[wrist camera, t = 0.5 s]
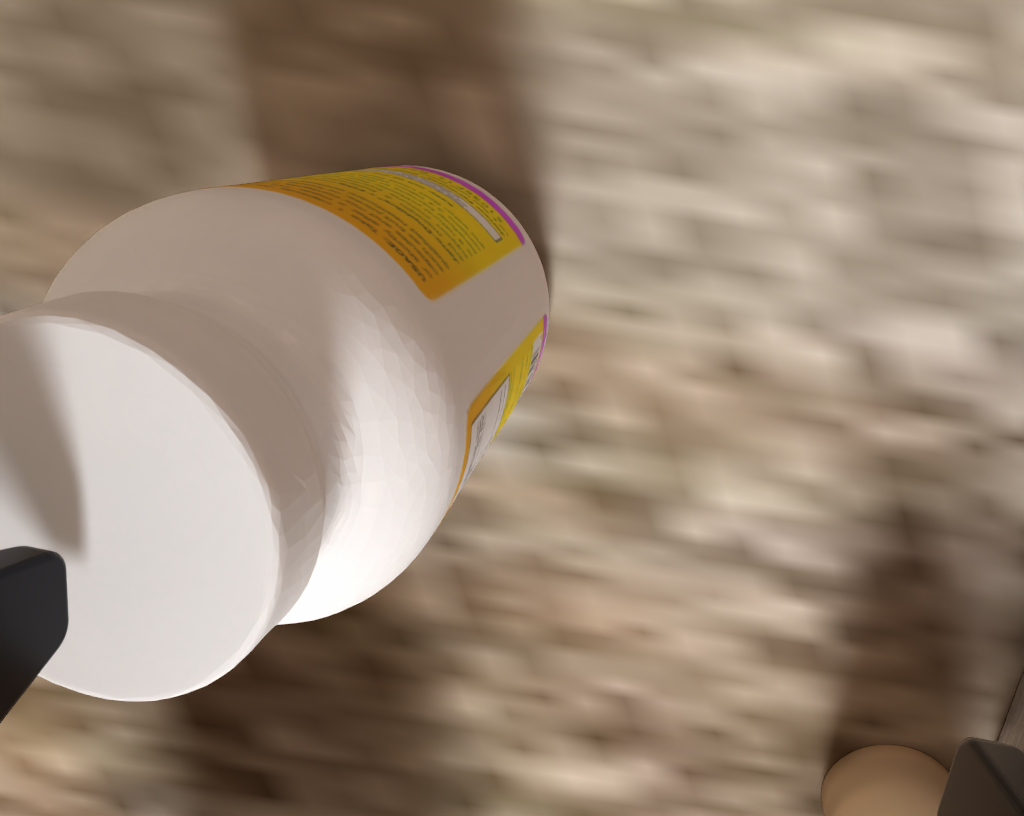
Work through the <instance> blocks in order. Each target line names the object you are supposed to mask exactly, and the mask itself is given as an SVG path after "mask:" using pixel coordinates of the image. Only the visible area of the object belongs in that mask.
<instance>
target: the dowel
mask: <svg viewBox="0 0 1024 816" xmlns="http://www.w3.org/2000/svg"><path fill="white" fill-rule="evenodd" d="M948 775H949V773H948V771H947V770H946V769H945V768H944V767H943V766H942V765H941V764H940V763H939V762H937V761H936V760H935V759H933V758H932V757H930V756H928V755H927V754H925V753H923V752H920V751H918V750H915V749H912V748H909V747H904V746H899V745H875V746H869V747H865V748H861V749H858V750H856V751H853V752H851V753H849V754H847V755H846V756H844V757H843V758H841V759H840V760H839V761H838V762H836V763H835V764H834V765H833V766H832V768H831V769H830V770H829V772H828V773H827V775H826V777H825V779H824V782H823V785H822V789H821V801H822V807H823V813H824V816H937V811H938V807H939V804H940V801H941V798H942V794H943V791H944V788H945V785H946V782H947V778H948Z"/></svg>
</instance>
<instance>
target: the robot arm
mask: <svg viewBox="0 0 1024 816" xmlns="http://www.w3.org/2000/svg"><path fill="white" fill-rule="evenodd" d="M68 624H69V615H68V594H67V573H66V564H65V561H64V559H63V558H62V556H61V555H59V554H58V553H57V552H54V551H50V550H45V549H40V548H35V547H30V546H17V547H12V548H7V549H2V550H0V723H1V721H2V720H3V719H4V718H5V716H6V715H7V714H8V713H9V711H10V710H11V709H12V707H13V706H14V705H15V704H16V702H17V701H18V700H19V698H20V697H21V696H22V695H23V693H24V692H25V691H26V690H27V688H28V687H29V686H30V684H31V683H32V682H33V681H34V679H35V678H36V677H37V675H38V674H39V673H40V672H41V670H42V669H43V668H44V666H45V665H46V664H47V663H48V661H49V660H50V659H51V658H52V656H53V655H54V654H55V652H56V651H57V650H58V649H59V647H60V646H61V644H62V642H63V640H64V638H65V636H66V633H67V629H68ZM937 816H1024V753H1023V752H1022V751H1021V750H1019V749H1018V748H1016V747H1014V746H1012V745H1009V744H1005V743H1000V742H994V741H989V740H984V739H979V738H973V737H969V738H966V739H965V740H963V741H962V742H961V743H960V745H959V746H958V748H957V750H956V753H955V756H954V759H953V762H952V766H951V769H950V772H949V775H948V778H947V782H946V785H945V788H944V791H943V794H942V798H941V801H940V804H939V807H938V811H937Z"/></svg>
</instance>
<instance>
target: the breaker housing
mask: <svg viewBox="0 0 1024 816" xmlns="http://www.w3.org/2000/svg"><path fill="white" fill-rule="evenodd" d="M998 742H1000V743H1005V744H1009V745H1012V746H1014V747H1016V748H1018V749H1019V750H1021V751H1022V752H1023V753H1024V673H1023V675H1022V678H1021V681H1020V683H1019V686H1018V689H1017V691H1016V694H1015V697H1014V699H1013V702H1012V705H1011V707H1010V710H1009V712H1008V715H1007V718H1006V720H1005V723H1004V726H1003V728H1002V731H1001V734H1000V736H999V739H998Z"/></svg>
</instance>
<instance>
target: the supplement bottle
mask: <svg viewBox="0 0 1024 816" xmlns="http://www.w3.org/2000/svg"><path fill="white" fill-rule="evenodd" d="M548 327H549V293H548V286H547V282H546V277H545V273H544V269H543V266H542V263H541V261H540V258H539V256H538V253H537V251H536V249H535V247H534V245H533V243H532V241H531V240H530V238H529V236H528V234H527V233H526V231H525V230H524V228H523V227H522V226H521V224H520V223H519V221H518V220H517V219H516V218H515V216H514V215H513V214H512V213H511V212H510V211H509V210H508V209H507V208H506V207H505V206H504V205H503V204H502V203H501V202H500V201H499V200H497V199H496V198H495V197H494V196H492V195H491V194H490V193H489V192H487V191H486V190H484V189H483V188H481V187H480V186H478V185H476V184H474V183H472V182H471V181H469V180H467V179H465V178H462V177H460V176H458V175H455V174H452V173H449V172H446V171H443V170H439V169H434V168H429V167H421V166H409V165H402V166H387V167H378V168H369V169H361V170H353V171H345V172H336V173H328V174H318V175H310V176H302V177H293V178H287V179H279V180H270V181H263V182H255V183H247V184H240V185H231V186H222V187H213V188H204V189H199V190H194V191H190V192H185V193H180V194H175V195H171V196H168V197H165V198H162V199H158V200H155V201H152V202H150V203H147V204H145V205H143V206H140V207H138V208H136V209H133V210H131V211H129V212H127V213H125V214H123V215H122V216H120V217H118V218H116V219H115V220H113V221H112V222H110V223H109V224H107V225H106V226H104V227H103V228H101V229H100V230H98V231H97V232H96V233H95V234H94V235H93V236H92V237H91V238H90V239H88V240H87V241H86V242H85V243H84V244H83V245H82V246H81V247H80V248H79V249H78V250H77V251H76V252H75V253H74V254H73V255H72V256H71V257H70V259H69V260H68V261H67V263H66V264H65V265H64V267H63V268H62V269H61V271H60V272H59V274H58V275H57V276H56V278H55V279H54V281H53V283H52V285H51V287H50V288H49V290H48V292H47V294H46V296H45V299H44V301H43V303H41V304H37V305H34V306H31V307H27V308H24V309H21V310H17V311H14V312H11V313H7V314H4V315H2V316H0V550H2V549H7V548H12V547H17V546H30V547H35V548H40V549H45V550H50V551H54V552H57V553H58V554H59V555H61V556H62V558H63V559H64V561H65V564H66V573H67V594H68V615H69V624H68V629H67V633H66V636H65V638H64V640H63V642H62V644H61V646H60V647H59V649H58V650H57V651H56V652H55V654H54V655H53V656H52V658H51V659H50V660H49V661H48V663H47V664H46V665H45V666H44V668H43V669H42V670H41V672H40V673H39V674H38V675H39V676H40V677H42V678H44V679H46V680H48V681H50V682H53V683H55V684H58V685H61V686H63V687H66V688H69V689H72V690H74V691H77V692H80V693H83V694H87V695H91V696H95V697H100V698H104V699H110V700H121V701H156V700H161V699H167V698H172V697H176V696H179V695H183V694H187V693H189V692H192V691H194V690H197V689H199V688H202V687H204V686H207V685H208V684H210V683H212V682H213V681H215V680H217V679H219V678H220V677H222V676H223V675H225V674H226V673H227V672H229V671H230V670H232V669H233V668H234V667H235V666H236V665H237V664H238V663H239V662H240V661H241V660H243V659H244V658H245V657H246V656H247V655H248V654H249V653H250V652H251V651H252V650H253V649H254V648H255V646H256V645H257V644H258V643H259V642H260V641H261V640H262V639H263V637H264V636H265V635H266V634H267V633H268V632H269V631H270V630H271V629H272V628H273V627H274V626H276V625H281V624H292V623H299V622H306V621H312V620H317V619H320V618H323V617H327V616H330V615H333V614H336V613H339V612H341V611H343V610H345V609H347V608H349V607H352V606H354V605H356V604H358V603H360V602H362V601H364V600H366V599H367V598H369V597H371V596H372V595H374V594H376V593H377V592H378V591H380V590H381V589H382V588H384V587H385V586H386V585H388V584H389V583H390V582H391V581H393V580H394V579H395V578H396V577H397V576H398V575H399V574H401V573H402V572H403V571H404V570H405V569H406V568H407V567H408V566H409V564H410V563H411V562H412V561H413V560H414V559H415V558H416V557H417V555H418V554H419V553H420V552H421V550H422V549H423V548H424V546H425V545H426V544H427V542H428V541H429V539H430V538H431V536H432V535H433V534H434V532H435V531H436V529H437V528H438V526H439V525H440V523H441V521H442V520H443V518H444V517H445V515H446V513H447V511H448V510H449V508H450V507H451V505H452V504H453V502H454V501H455V499H456V497H457V495H458V494H459V492H460V491H461V489H462V488H463V486H464V484H465V483H466V481H467V480H468V478H469V477H470V475H471V473H472V472H473V470H474V469H475V467H476V465H477V464H478V462H479V461H480V459H481V458H482V456H483V455H484V453H485V452H486V450H487V449H488V447H489V446H490V444H491V443H492V441H493V440H494V438H495V436H496V435H497V434H498V432H499V431H500V429H501V427H502V426H503V424H504V423H505V422H506V420H507V418H508V417H509V415H510V413H511V412H512V411H513V409H514V407H515V406H516V404H517V403H518V401H519V400H520V398H521V396H522V395H523V393H524V391H525V390H526V388H527V387H528V385H529V383H530V381H531V379H532V377H533V375H534V373H535V371H536V369H537V367H538V365H539V362H540V359H541V357H542V354H543V351H544V347H545V343H546V339H547V334H548Z"/></svg>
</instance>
